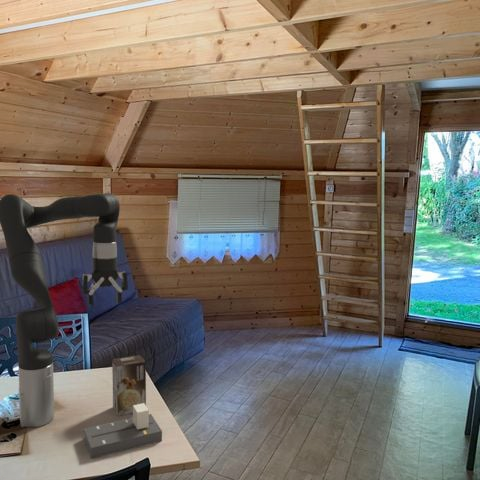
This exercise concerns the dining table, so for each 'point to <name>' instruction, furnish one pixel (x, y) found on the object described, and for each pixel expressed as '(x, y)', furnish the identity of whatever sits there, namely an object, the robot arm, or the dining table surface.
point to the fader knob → (140, 416)
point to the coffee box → (128, 383)
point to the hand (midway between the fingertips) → (105, 304)
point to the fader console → (120, 436)
